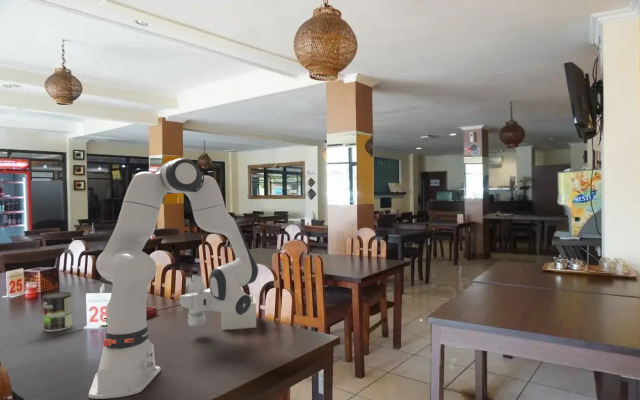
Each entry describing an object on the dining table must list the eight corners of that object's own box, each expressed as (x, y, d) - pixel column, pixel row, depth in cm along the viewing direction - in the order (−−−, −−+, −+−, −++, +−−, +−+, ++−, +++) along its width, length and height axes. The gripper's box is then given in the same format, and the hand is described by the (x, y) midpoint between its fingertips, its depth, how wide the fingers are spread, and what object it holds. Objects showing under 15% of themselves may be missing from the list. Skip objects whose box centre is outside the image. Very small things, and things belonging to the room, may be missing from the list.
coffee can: (52, 333, 168) (51, 298, 168) (38, 329, 173) (37, 296, 173) (77, 325, 177) (76, 293, 177) (63, 322, 182) (62, 291, 182)
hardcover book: (157, 315, 191) (157, 306, 191) (118, 329, 172) (118, 319, 172) (139, 313, 196) (139, 304, 196) (99, 326, 177) (99, 316, 177)
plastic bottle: (200, 329, 157) (201, 278, 156) (184, 327, 159) (185, 276, 157) (208, 323, 164) (209, 274, 162) (192, 321, 165) (193, 272, 164)
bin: (256, 327, 170) (255, 303, 170) (221, 330, 167) (220, 305, 167) (255, 317, 184) (255, 295, 183) (223, 319, 181) (222, 297, 181)
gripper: (238, 284, 160) (217, 280, 169) (192, 295, 144) (171, 290, 153) (239, 301, 160) (217, 296, 169) (192, 313, 144) (171, 306, 153)
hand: (195, 293), depth 161 cm, fingers closed on plastic bottle, 6 cm apart
